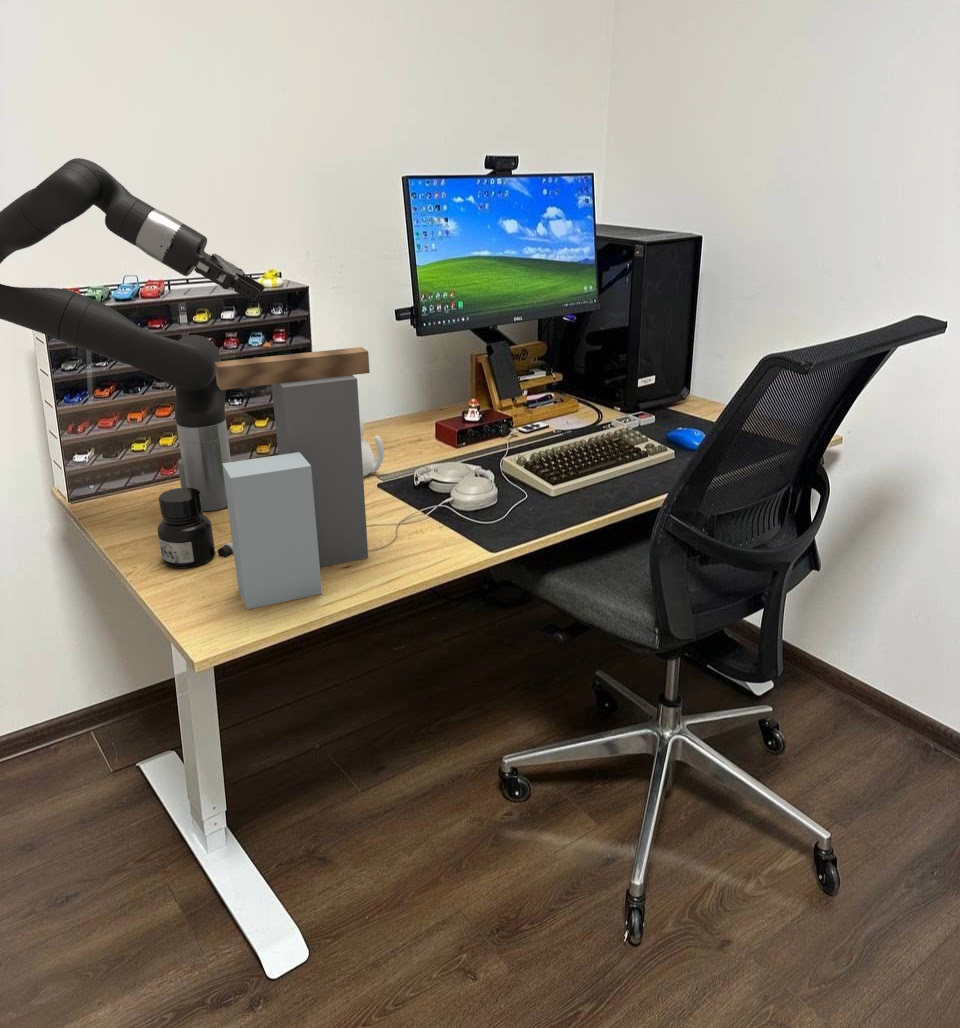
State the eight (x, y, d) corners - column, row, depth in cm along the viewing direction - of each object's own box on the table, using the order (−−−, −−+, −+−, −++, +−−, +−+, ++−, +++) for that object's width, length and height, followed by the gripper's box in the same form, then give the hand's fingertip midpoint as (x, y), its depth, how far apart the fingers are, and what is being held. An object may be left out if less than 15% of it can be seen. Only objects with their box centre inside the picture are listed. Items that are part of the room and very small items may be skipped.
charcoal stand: (300, 570, 151) (283, 387, 138) (288, 550, 158) (270, 374, 146) (368, 557, 156) (357, 378, 143) (352, 538, 163) (341, 366, 150)
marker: (227, 559, 156) (225, 548, 155) (218, 557, 157) (216, 547, 156) (280, 526, 169) (279, 517, 168) (271, 525, 170) (270, 515, 169)
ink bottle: (151, 559, 156) (140, 495, 151) (195, 542, 162) (186, 481, 157) (182, 575, 150) (172, 509, 145) (226, 557, 156) (218, 494, 151)
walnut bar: (220, 390, 137) (218, 367, 136) (216, 384, 140) (214, 362, 139) (369, 373, 146) (368, 351, 145) (362, 368, 149) (361, 347, 148)
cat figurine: (337, 465, 199) (331, 400, 193) (391, 467, 197) (387, 402, 191) (324, 479, 191) (317, 412, 185) (380, 482, 189) (375, 414, 183)
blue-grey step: (247, 609, 139) (230, 478, 130) (238, 590, 145) (222, 463, 136) (322, 593, 143) (311, 465, 135) (310, 575, 149) (299, 452, 141)
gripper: (169, 260, 156) (254, 309, 160) (152, 264, 142) (244, 317, 147) (189, 222, 154) (274, 272, 158) (173, 222, 141) (266, 277, 145)
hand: (259, 294), depth 152 cm, fingers open, 8 cm apart
